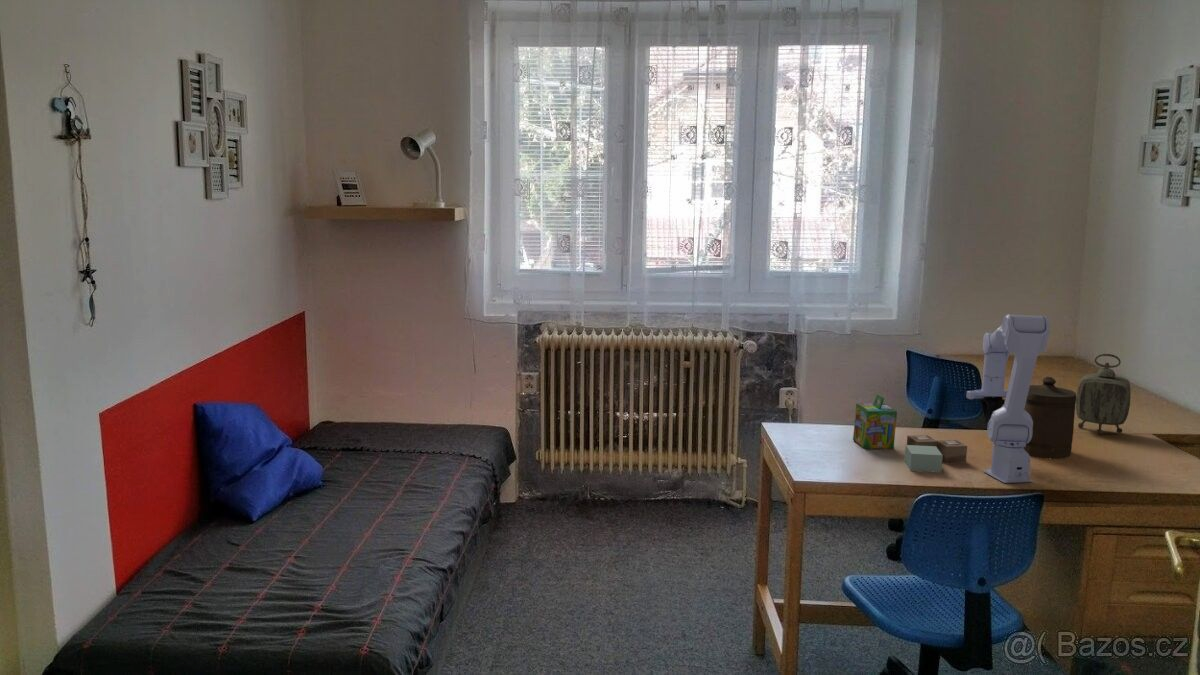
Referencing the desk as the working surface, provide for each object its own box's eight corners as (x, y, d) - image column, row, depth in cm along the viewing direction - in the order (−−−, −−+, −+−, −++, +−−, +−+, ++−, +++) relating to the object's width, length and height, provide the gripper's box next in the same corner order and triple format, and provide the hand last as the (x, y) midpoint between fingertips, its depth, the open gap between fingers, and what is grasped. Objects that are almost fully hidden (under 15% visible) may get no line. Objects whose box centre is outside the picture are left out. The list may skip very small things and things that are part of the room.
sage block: (941, 473, 236) (942, 455, 236) (910, 471, 237) (911, 453, 237) (934, 463, 244) (935, 446, 243) (904, 462, 245) (905, 444, 244)
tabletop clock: (1126, 433, 277) (1135, 354, 272) (1125, 440, 269) (1135, 359, 265) (1074, 426, 284) (1082, 349, 280) (1072, 432, 276) (1080, 354, 272)
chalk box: (852, 440, 265) (855, 392, 262) (881, 440, 266) (885, 392, 263) (864, 449, 256) (867, 400, 253) (895, 449, 257) (898, 399, 254)
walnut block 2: (965, 463, 245) (967, 445, 244) (945, 464, 244) (946, 445, 243) (954, 456, 251) (955, 439, 250) (934, 457, 250) (935, 439, 249)
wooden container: (1030, 441, 266) (1037, 369, 262) (1080, 453, 254) (1089, 379, 251) (1003, 449, 258) (1010, 375, 254) (1054, 462, 246) (1062, 385, 242)
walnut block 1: (936, 458, 249) (937, 440, 248) (915, 458, 248) (917, 441, 247) (925, 452, 255) (927, 434, 254) (906, 452, 254) (907, 434, 253)
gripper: (1008, 372, 253) (1004, 418, 256) (962, 373, 251) (958, 419, 253) (1024, 377, 246) (1019, 424, 249) (976, 378, 244) (972, 426, 247)
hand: (989, 422), depth 251 cm, fingers closed
